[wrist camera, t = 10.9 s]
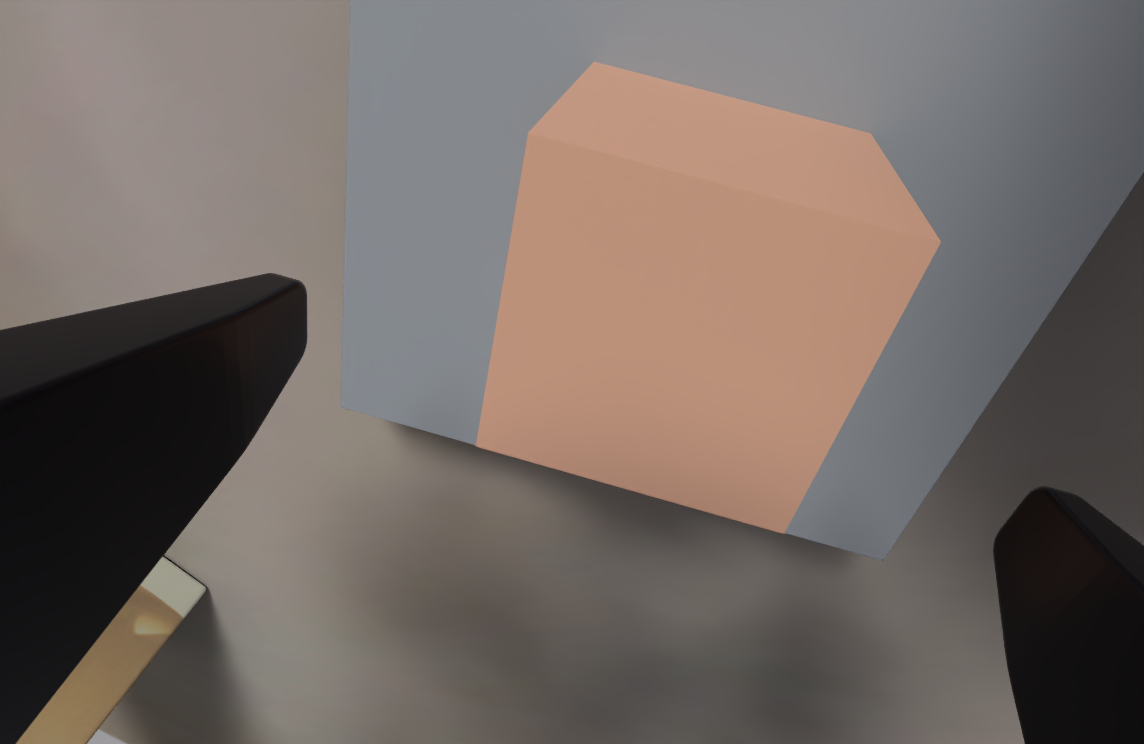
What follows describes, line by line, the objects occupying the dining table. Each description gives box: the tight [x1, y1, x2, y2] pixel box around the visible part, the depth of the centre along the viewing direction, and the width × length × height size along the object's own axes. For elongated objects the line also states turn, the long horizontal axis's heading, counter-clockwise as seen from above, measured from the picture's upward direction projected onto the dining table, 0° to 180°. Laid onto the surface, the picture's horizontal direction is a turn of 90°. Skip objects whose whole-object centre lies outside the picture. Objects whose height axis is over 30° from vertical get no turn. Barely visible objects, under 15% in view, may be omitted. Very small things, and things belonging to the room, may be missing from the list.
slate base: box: [341, 0, 1144, 561], centre depth 15 cm, size 14×14×3 cm
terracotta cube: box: [476, 62, 941, 534], centre depth 12 cm, size 5×5×5 cm
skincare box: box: [16, 557, 206, 744], centre depth 24 cm, size 6×4×12 cm
